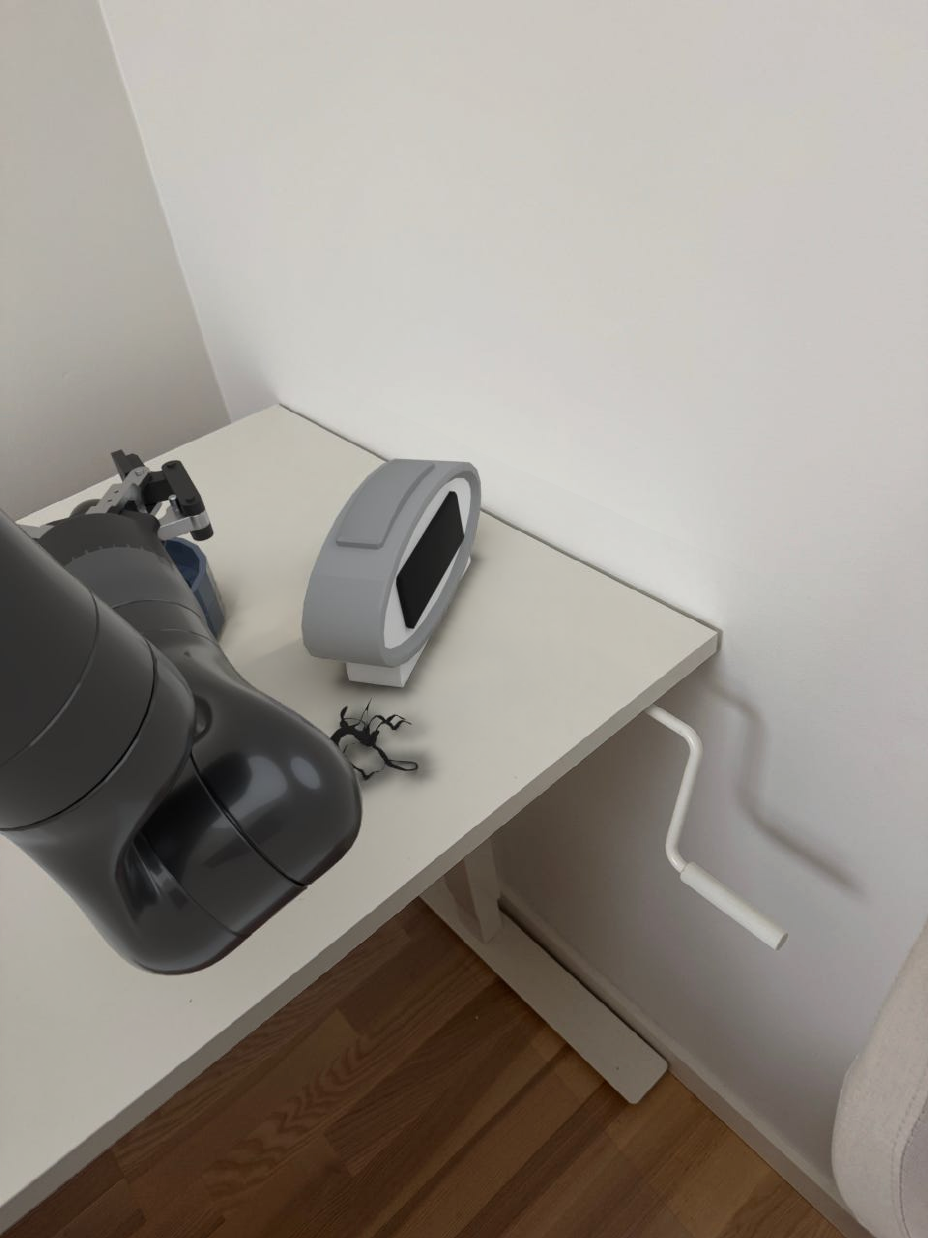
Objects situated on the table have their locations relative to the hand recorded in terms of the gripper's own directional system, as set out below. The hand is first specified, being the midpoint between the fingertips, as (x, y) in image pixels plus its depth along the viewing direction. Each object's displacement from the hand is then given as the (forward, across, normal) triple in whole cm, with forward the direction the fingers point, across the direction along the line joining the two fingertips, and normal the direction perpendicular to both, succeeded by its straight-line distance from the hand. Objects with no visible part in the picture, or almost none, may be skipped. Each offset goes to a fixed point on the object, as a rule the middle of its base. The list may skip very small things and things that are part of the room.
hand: (53, 488), depth 59 cm
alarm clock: (+1, -22, +22) cm, 31 cm away
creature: (-11, -12, +22) cm, 28 cm away
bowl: (+14, -2, +23) cm, 27 cm away
